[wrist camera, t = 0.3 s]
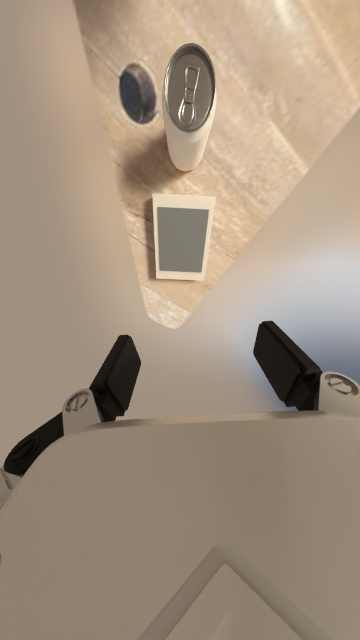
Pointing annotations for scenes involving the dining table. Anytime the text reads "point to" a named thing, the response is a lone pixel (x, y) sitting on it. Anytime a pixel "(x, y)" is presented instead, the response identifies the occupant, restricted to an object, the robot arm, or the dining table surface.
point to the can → (188, 105)
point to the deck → (182, 235)
